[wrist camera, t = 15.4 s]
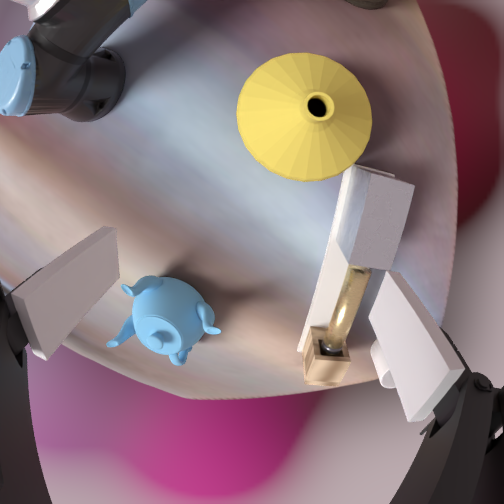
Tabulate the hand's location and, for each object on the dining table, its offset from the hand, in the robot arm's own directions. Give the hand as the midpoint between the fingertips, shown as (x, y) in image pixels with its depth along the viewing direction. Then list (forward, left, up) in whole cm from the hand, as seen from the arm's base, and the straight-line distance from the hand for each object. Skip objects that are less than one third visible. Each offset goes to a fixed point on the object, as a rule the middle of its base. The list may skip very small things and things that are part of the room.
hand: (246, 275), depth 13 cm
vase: (+4, +10, -35) cm, 37 cm away
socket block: (+17, -31, -35) cm, 50 cm away
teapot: (-15, -28, -35) cm, 47 cm away
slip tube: (+17, -21, -30) cm, 40 cm away
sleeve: (+17, -3, -35) cm, 39 cm away
